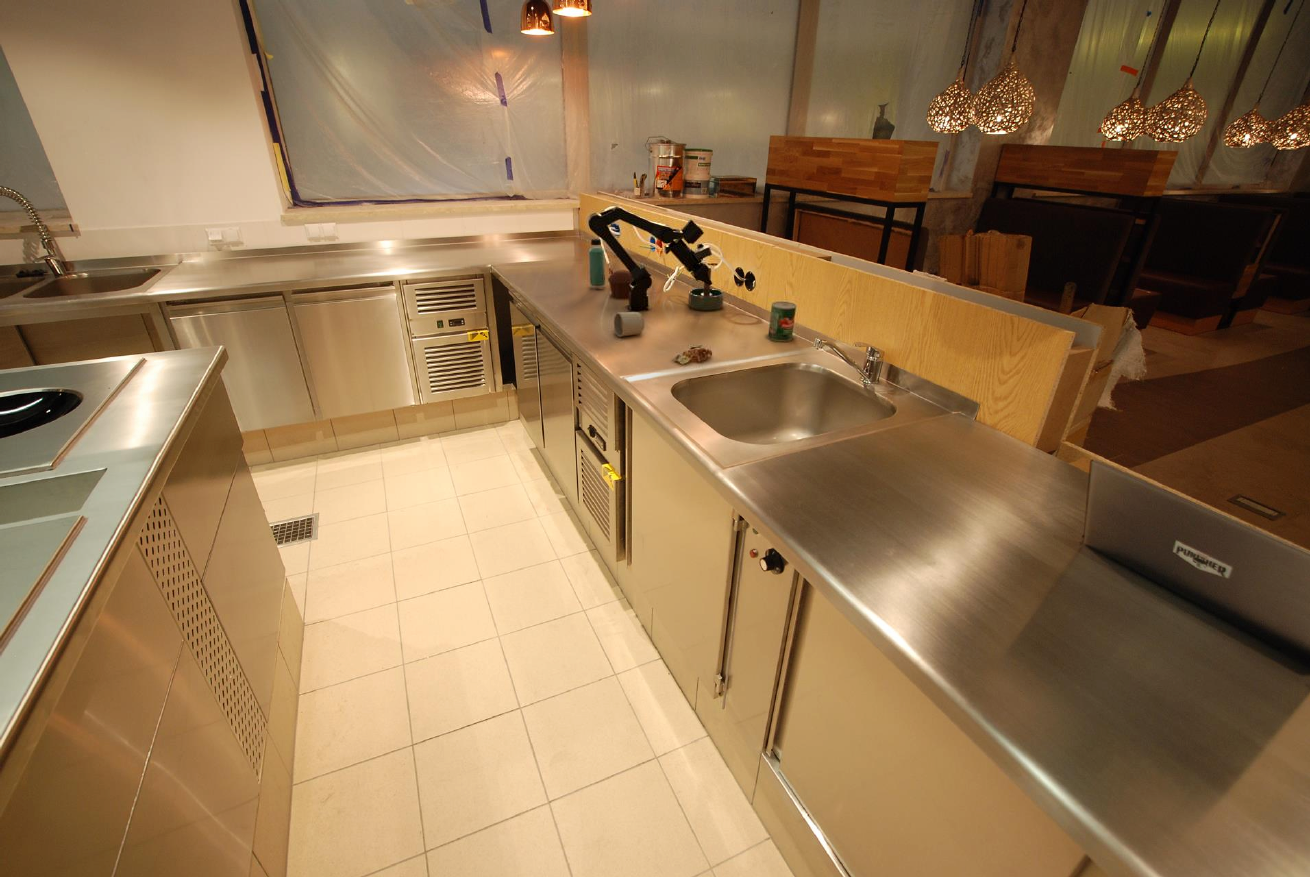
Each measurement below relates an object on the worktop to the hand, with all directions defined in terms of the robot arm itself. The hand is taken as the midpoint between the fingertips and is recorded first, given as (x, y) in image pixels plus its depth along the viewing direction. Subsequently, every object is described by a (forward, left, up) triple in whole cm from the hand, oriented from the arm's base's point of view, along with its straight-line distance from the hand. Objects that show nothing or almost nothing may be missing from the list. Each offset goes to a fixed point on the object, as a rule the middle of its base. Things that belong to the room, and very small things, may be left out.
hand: (710, 283), depth 217 cm
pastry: (-26, -52, -9) cm, 59 cm away
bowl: (-1, 0, -9) cm, 9 cm away
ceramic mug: (-39, -24, -9) cm, 47 cm away
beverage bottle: (-35, +38, -9) cm, 53 cm away
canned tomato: (+9, -41, -9) cm, 43 cm away
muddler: (-1, 0, -7) cm, 7 cm away
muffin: (-28, +23, -9) cm, 38 cm away
